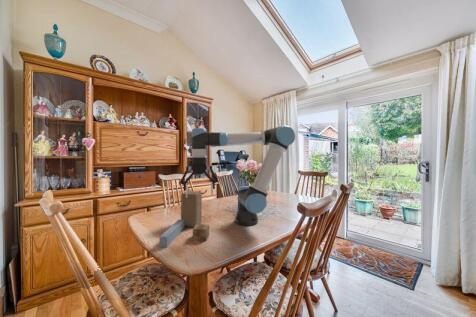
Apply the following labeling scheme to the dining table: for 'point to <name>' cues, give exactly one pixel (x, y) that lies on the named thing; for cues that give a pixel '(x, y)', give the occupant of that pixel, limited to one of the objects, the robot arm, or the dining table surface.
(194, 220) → the wooden block
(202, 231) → the walnut block
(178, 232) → the bar
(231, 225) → the dining table surface
